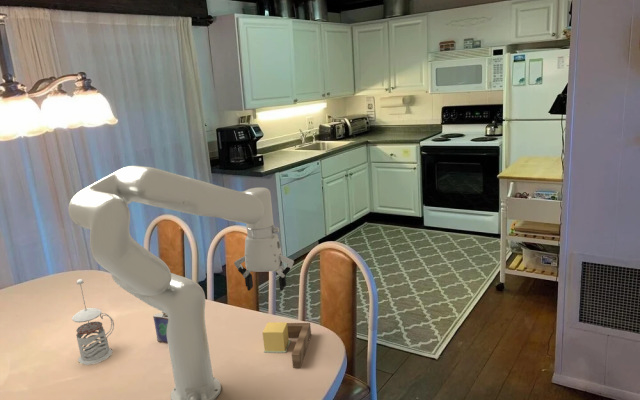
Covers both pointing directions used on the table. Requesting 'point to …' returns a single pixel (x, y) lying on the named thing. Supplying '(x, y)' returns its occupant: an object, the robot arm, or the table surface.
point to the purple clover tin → (161, 327)
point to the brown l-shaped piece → (303, 335)
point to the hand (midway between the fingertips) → (266, 288)
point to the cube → (275, 336)
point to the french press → (95, 350)
